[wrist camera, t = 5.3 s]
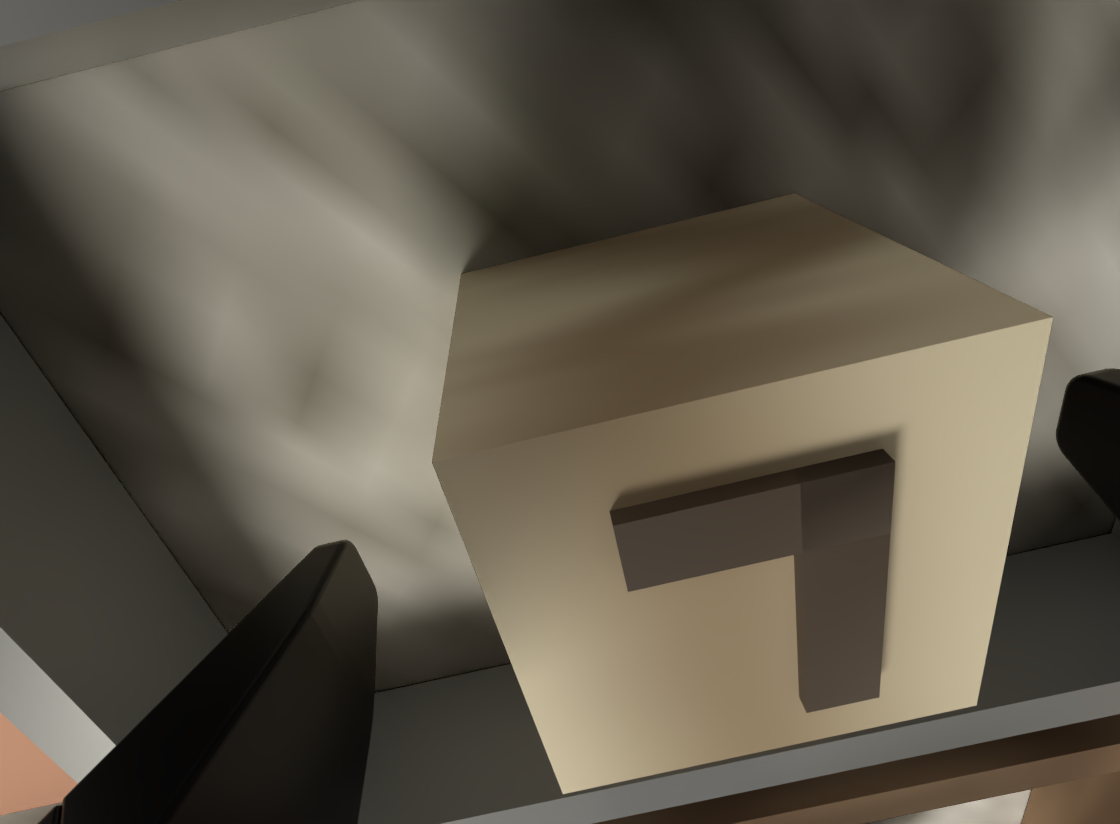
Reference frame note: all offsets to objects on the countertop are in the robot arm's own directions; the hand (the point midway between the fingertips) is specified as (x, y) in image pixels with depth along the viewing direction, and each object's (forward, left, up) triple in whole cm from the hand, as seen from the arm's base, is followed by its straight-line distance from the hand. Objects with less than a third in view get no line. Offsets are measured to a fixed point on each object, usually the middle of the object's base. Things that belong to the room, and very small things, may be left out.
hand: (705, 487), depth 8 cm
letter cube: (0, 0, -3) cm, 3 cm away
